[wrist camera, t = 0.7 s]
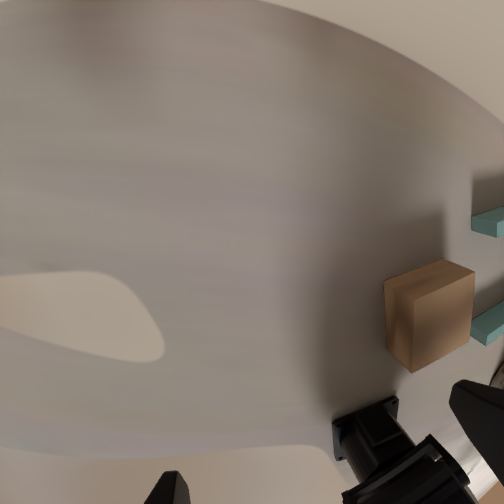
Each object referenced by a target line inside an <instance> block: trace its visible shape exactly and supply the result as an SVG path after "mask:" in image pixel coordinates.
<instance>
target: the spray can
mask: <svg viewBox="0 0 504 504" xmlns="http://www.w3.org/2000/svg"><path fill="white" fill-rule="evenodd" d="M490 386H492V387H496V388H500V389H504V363H503V365H502V366H501V368H500V369H499V371H498V372H497V374H496V376H495V377H494V379H493V380H492V384H491V385H490Z"/></svg>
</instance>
